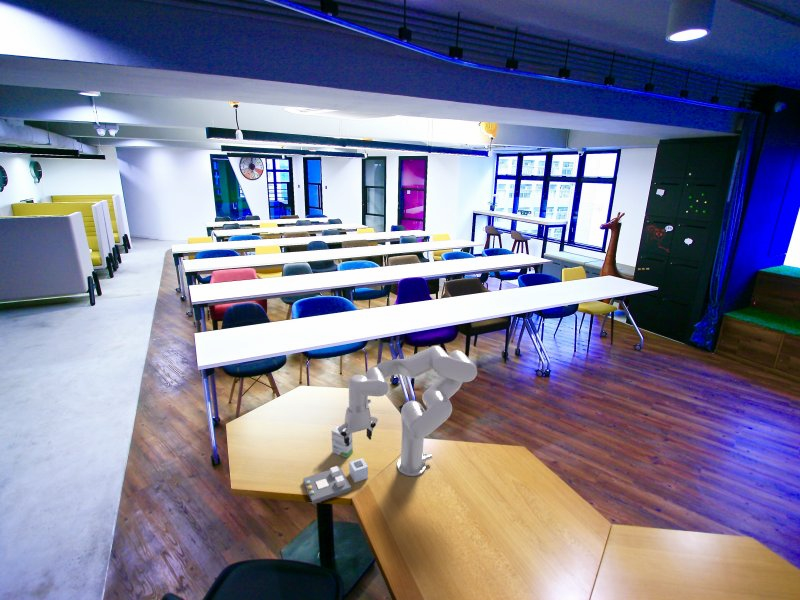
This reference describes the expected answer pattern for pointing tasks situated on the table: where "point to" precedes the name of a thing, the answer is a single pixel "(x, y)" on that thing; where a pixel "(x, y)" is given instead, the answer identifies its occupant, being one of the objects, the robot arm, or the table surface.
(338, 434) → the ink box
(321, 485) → the button
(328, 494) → the breaker panel
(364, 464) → the cap
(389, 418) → the table surface
